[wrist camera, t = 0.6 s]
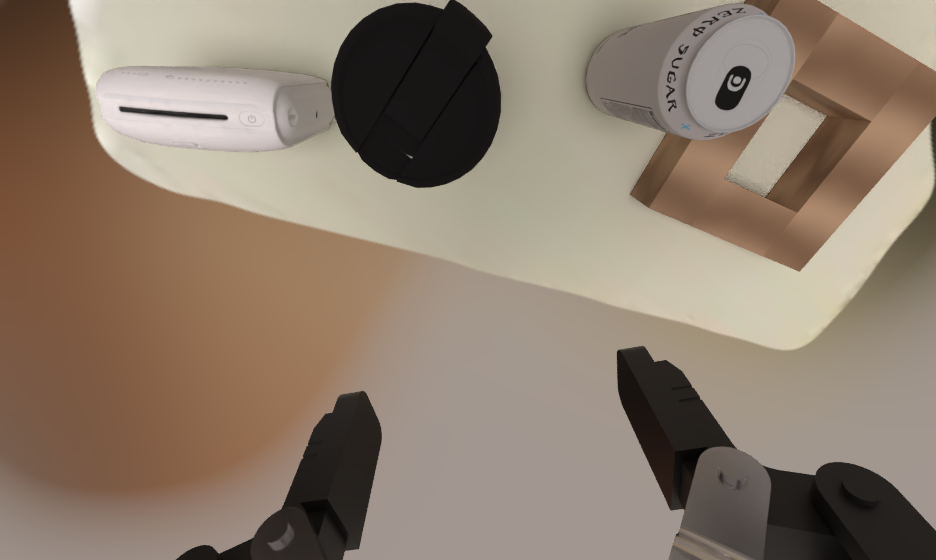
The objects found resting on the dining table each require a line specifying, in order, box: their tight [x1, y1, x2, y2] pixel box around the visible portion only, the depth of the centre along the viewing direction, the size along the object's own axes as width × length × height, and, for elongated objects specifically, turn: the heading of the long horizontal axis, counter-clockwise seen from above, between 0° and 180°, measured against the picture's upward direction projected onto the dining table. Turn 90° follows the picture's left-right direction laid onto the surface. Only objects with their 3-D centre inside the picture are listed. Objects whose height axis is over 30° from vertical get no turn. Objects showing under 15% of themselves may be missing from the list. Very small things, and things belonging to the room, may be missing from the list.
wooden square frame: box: [630, 0, 936, 272], centre depth 32 cm, size 16×16×4 cm
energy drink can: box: [586, 3, 795, 140], centre depth 25 cm, size 6×6×15 cm
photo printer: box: [95, 66, 335, 152], centre depth 26 cm, size 10×4×12 cm, turn 86°
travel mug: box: [331, 0, 501, 188], centre depth 23 cm, size 6×7×20 cm
